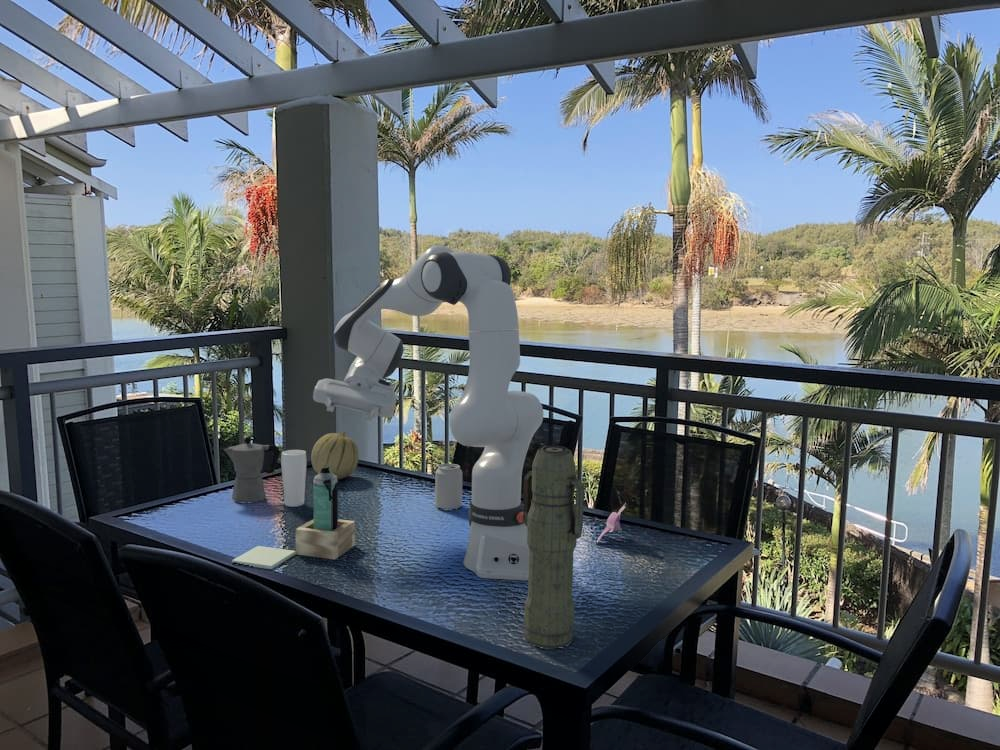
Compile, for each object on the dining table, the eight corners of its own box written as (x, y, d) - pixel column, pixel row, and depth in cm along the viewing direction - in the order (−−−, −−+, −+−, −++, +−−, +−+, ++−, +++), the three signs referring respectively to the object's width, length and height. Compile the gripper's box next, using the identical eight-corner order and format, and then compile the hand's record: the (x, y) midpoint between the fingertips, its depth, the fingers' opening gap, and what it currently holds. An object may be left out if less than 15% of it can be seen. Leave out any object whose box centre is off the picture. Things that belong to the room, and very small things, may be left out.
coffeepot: (222, 504, 219) (220, 440, 217) (227, 495, 228) (226, 434, 226) (279, 502, 222) (278, 440, 220) (282, 493, 231) (281, 433, 229)
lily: (615, 534, 204) (598, 503, 203) (653, 526, 197) (635, 494, 195) (595, 561, 195) (577, 528, 194) (634, 554, 188) (615, 519, 186)
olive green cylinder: (531, 621, 149) (536, 440, 145) (588, 637, 143) (595, 448, 139) (507, 639, 142) (512, 448, 138) (566, 656, 136) (573, 458, 131)
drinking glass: (300, 509, 216) (299, 455, 214) (277, 507, 218) (276, 454, 216) (310, 502, 223) (310, 450, 221) (288, 500, 224) (288, 448, 222)
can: (467, 506, 222) (467, 465, 221) (451, 513, 216) (452, 470, 214) (445, 502, 226) (446, 461, 225) (429, 508, 220) (430, 466, 218)
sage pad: (295, 554, 182) (295, 550, 182) (271, 569, 173) (271, 565, 172) (258, 549, 185) (258, 545, 185) (232, 563, 175) (231, 560, 175)
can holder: (355, 545, 189) (355, 521, 188) (334, 559, 179) (334, 534, 178) (317, 540, 192) (317, 516, 191) (295, 554, 182) (295, 529, 181)
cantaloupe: (301, 478, 248) (301, 432, 246) (339, 470, 259) (338, 425, 257) (331, 487, 238) (330, 439, 237) (368, 478, 250) (368, 432, 248)
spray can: (342, 549, 186) (342, 466, 183) (322, 555, 182) (322, 470, 179) (328, 544, 189) (328, 462, 187) (309, 549, 185) (308, 466, 183)
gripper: (321, 367, 200) (308, 392, 187) (400, 385, 201) (392, 411, 189) (317, 389, 202) (304, 415, 190) (396, 407, 204) (388, 433, 192)
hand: (349, 413), depth 189 cm, fingers open, 8 cm apart
